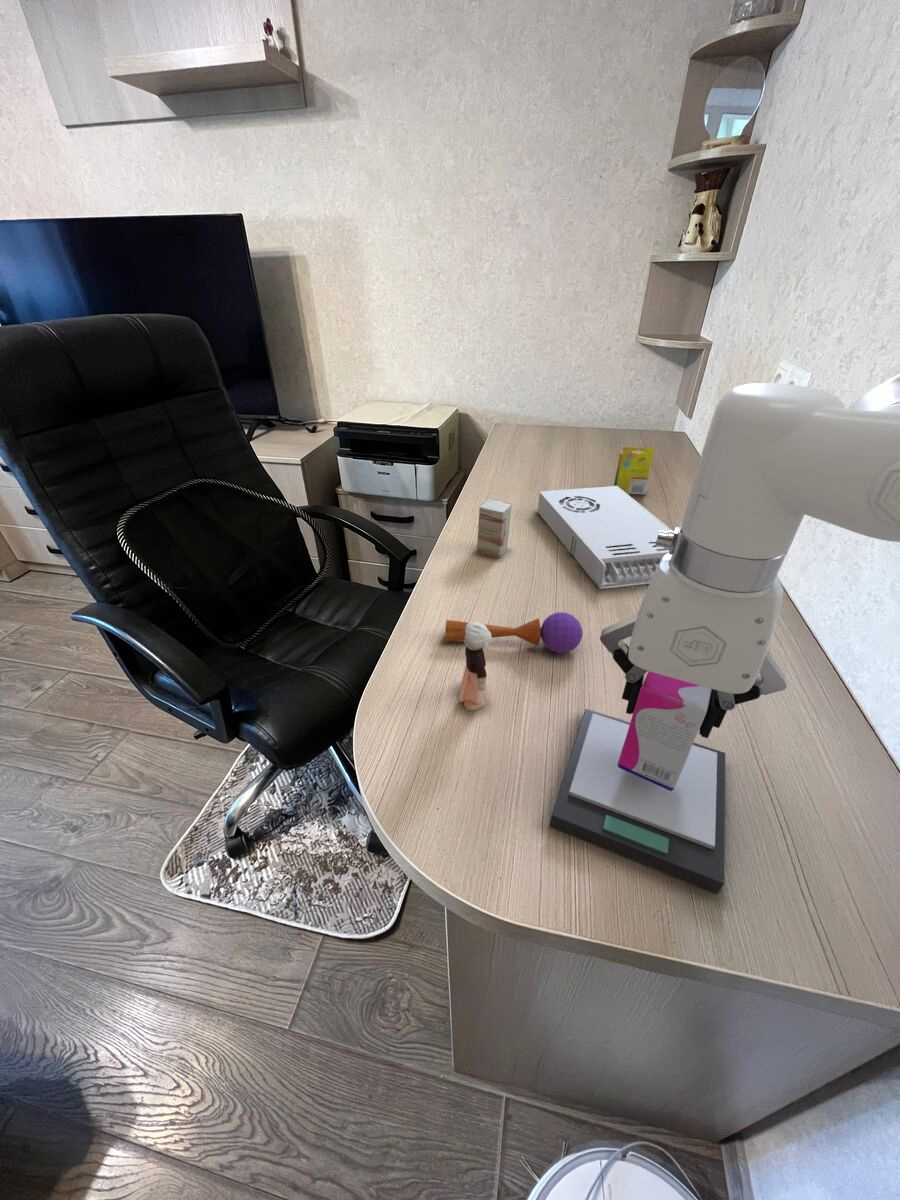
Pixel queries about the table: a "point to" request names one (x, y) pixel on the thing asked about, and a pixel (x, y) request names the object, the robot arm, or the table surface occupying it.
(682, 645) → the robot arm
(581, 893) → the table surface
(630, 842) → the scale
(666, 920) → the table surface
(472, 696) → the grandmother figurine
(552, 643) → the kendama
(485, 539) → the medicine carton
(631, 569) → the power supply unit
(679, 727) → the supplement box
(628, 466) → the crayon box
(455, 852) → the table surface
